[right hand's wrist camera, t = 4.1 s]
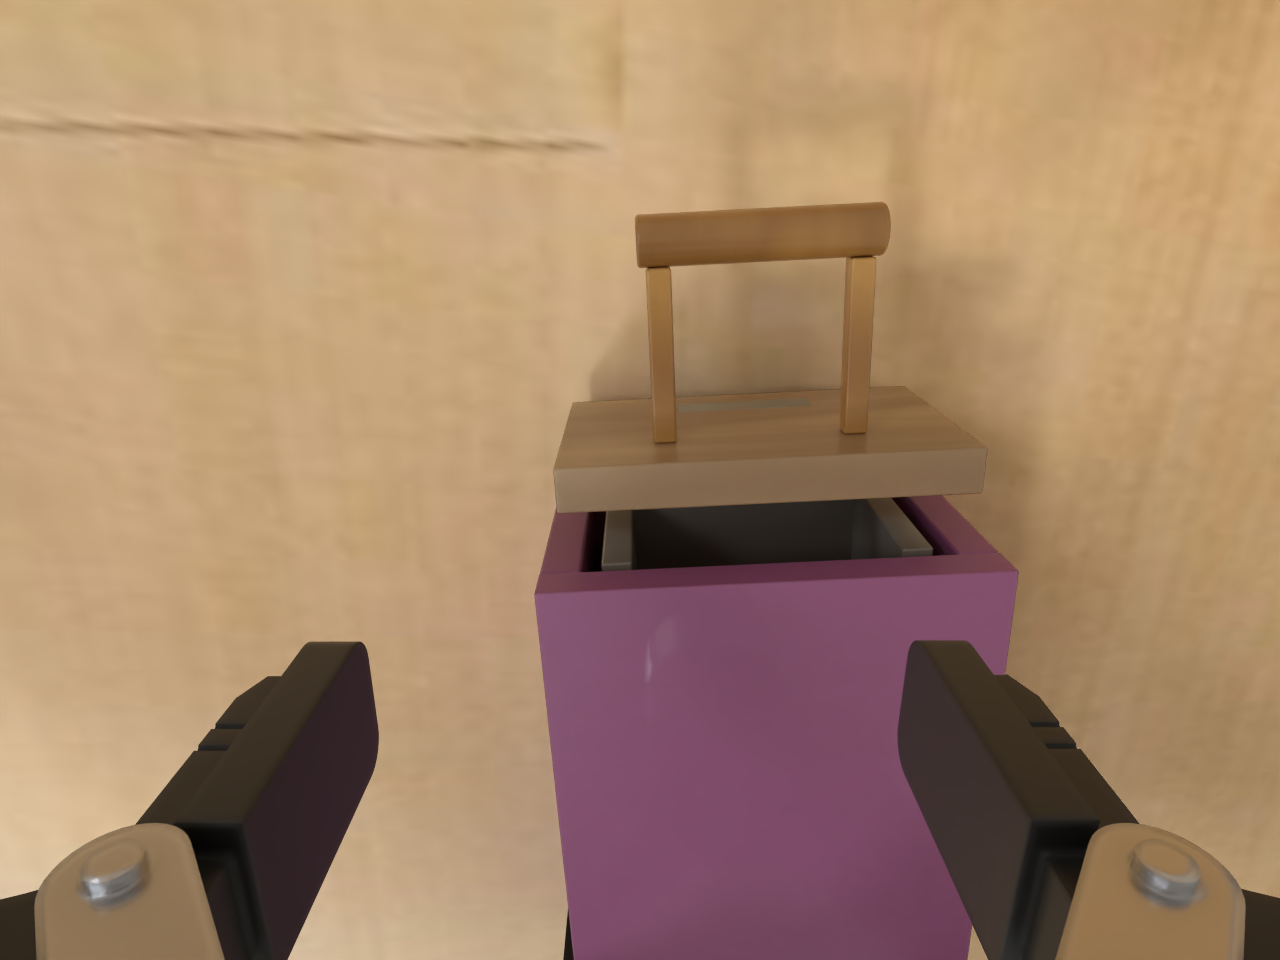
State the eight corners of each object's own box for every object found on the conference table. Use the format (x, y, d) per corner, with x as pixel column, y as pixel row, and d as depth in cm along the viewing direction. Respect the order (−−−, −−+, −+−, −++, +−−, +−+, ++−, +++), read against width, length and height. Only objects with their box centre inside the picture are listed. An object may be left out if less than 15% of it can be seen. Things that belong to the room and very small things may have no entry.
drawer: (556, 213, 23) (529, 222, 17) (917, 194, 23) (1016, 197, 17) (611, 879, 32) (605, 1036, 26) (870, 867, 32) (925, 1023, 26)
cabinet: (563, 474, 27) (533, 593, 19) (907, 458, 27) (1020, 570, 19) (603, 933, 34) (594, 1155, 26) (873, 922, 34) (944, 1141, 26)
